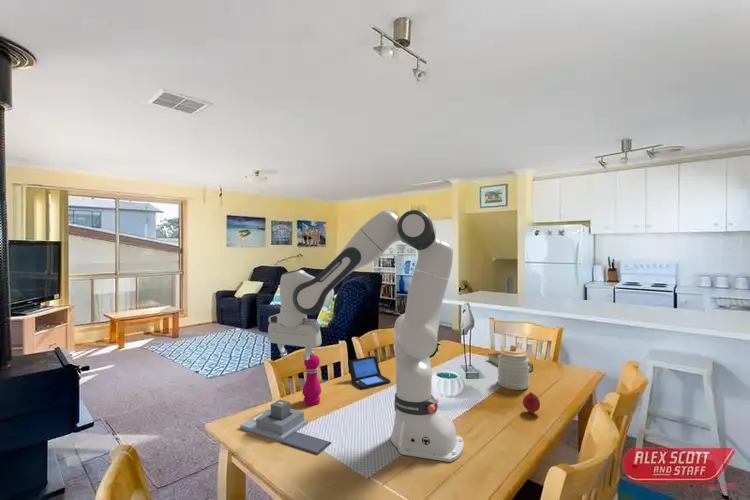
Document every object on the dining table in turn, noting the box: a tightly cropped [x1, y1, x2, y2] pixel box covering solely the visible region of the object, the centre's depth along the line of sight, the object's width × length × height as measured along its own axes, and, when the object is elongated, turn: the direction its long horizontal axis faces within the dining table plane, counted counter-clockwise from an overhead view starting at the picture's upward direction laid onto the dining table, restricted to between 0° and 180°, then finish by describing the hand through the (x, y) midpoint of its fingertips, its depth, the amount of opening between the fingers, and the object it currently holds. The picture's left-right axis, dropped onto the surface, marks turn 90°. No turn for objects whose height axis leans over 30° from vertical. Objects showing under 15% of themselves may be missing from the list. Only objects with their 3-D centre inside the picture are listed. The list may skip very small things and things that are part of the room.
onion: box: [522, 390, 541, 414], centre depth 135 cm, size 6×6×8 cm
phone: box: [280, 431, 332, 456], centre depth 114 cm, size 14×7×1 cm, turn 63°
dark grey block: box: [270, 399, 291, 421], centre depth 123 cm, size 4×4×7 cm
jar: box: [497, 344, 530, 391], centre depth 162 cm, size 13×13×18 cm
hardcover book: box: [487, 351, 534, 372], centre depth 189 cm, size 12×21×4 cm, turn 15°
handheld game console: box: [347, 355, 391, 390], centre depth 165 cm, size 16×13×9 cm
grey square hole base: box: [239, 408, 309, 442], centre depth 125 cm, size 18×13×4 cm
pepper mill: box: [301, 350, 322, 406], centre depth 143 cm, size 7×7×20 cm
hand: (295, 357), depth 126 cm, fingers open, 8 cm apart
